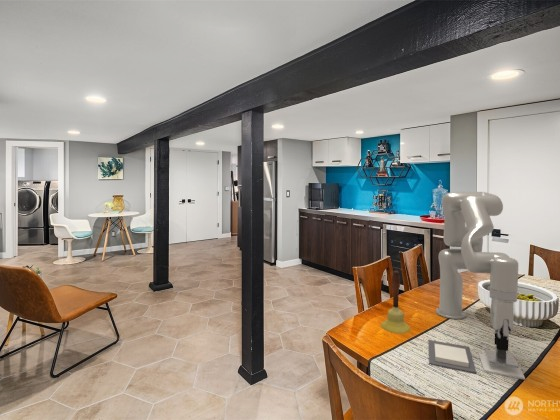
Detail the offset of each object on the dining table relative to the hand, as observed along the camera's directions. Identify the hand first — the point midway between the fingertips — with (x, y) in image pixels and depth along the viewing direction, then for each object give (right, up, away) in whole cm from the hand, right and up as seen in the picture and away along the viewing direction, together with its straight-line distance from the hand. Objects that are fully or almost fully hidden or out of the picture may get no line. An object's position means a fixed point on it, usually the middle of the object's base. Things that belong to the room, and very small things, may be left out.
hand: (501, 346), depth 106 cm
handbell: (-24, -5, +31) cm, 40 cm away
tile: (-14, -5, +6) cm, 16 cm away
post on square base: (0, -4, 0) cm, 4 cm away
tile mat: (-13, -7, +8) cm, 17 cm away
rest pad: (0, -7, +1) cm, 7 cm away
